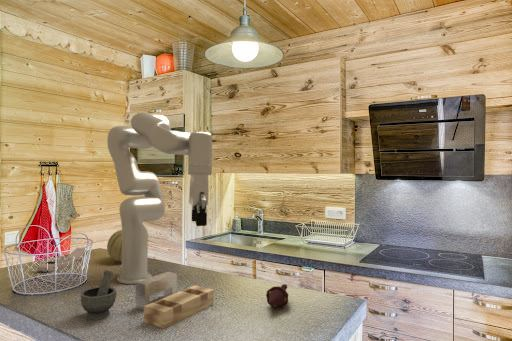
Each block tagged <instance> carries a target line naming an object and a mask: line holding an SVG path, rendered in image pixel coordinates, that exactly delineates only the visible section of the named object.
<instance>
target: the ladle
mask: <svg viewBox="0 0 512 341" xmlns="http://www.w3.org/2000/svg"><path fill="white" fill-rule="evenodd" d="M85 248H86V247H77V248H75V249H74V250H73V251H72V252H71V253H70V254H69V255H68V256H67V257H66V260H64V259H65V258H61V259H57V260H54V261H51V260H50V261H47V262H43V263H41V264H39V265H37V266H36V270H34V271H32V273H33V274H36V273H39V272H44V273H49V272H55V271H54V269H55V261H57V267H58V270H60V269H61V270H62V269H64V267H65V268H67V267H66V266H67V265H68V262H69V266H68V267H71V266H73V265H72V260H73V256H75V260H74V263H75V264H76V261H77V260H78V259H79V258H80V257H81V256H83V255H84V254H85V252H86V251H85ZM84 251H85V252H84ZM62 262H63V264H62ZM47 263H48V272H47Z"/></svg>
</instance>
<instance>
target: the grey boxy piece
mask: <svg viewBox="0 0 512 341" xmlns="http://www.w3.org/2000/svg"><path fill="white" fill-rule="evenodd" d="M177 286H178V273H175V272H171V271H166V272H162V273H160V274H157V275H154V276H151V277H150V278H147V279H144V280H141V281H138V282H136V284H135V309H138V310H141V311H144V306H145V305H148V304H150V303H151V296H153V295H155V294H158V293H160V292H163V298H165V297H167V296H170V295H172V294H175V293H177V288H178V287H177Z"/></svg>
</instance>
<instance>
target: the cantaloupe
mask: <svg viewBox="0 0 512 341" xmlns="http://www.w3.org/2000/svg"><path fill="white" fill-rule="evenodd" d="M106 245H107V246H106V248H107V249H106V250H107V253H108V256H109V257H110V258H111V259H112V260H114V261H115V262H118V263H122V229H119V230H117V231H115V232H114V233H113V234H112V235H110V237H109V239H108V240H107V244H106Z"/></svg>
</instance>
